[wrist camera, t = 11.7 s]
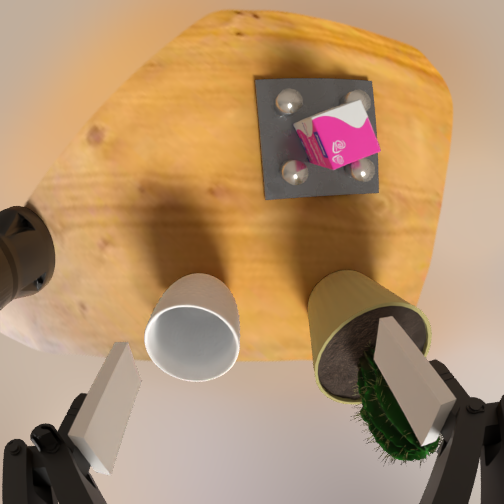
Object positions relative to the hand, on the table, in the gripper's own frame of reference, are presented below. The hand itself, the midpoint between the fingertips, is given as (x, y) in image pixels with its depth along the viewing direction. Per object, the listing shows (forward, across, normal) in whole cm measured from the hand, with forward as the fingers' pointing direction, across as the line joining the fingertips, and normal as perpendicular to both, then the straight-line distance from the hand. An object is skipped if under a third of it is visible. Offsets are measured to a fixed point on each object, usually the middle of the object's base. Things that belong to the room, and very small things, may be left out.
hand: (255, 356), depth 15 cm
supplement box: (+28, +11, +11) cm, 32 cm away
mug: (+29, -8, -11) cm, 32 cm away
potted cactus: (+29, +14, -14) cm, 35 cm away
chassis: (+29, +11, +11) cm, 33 cm away
